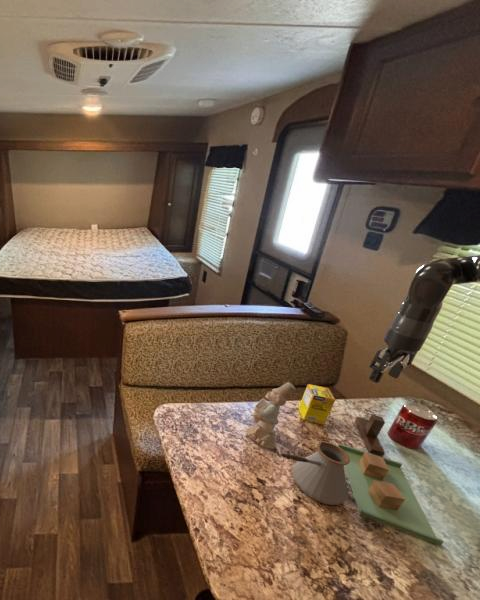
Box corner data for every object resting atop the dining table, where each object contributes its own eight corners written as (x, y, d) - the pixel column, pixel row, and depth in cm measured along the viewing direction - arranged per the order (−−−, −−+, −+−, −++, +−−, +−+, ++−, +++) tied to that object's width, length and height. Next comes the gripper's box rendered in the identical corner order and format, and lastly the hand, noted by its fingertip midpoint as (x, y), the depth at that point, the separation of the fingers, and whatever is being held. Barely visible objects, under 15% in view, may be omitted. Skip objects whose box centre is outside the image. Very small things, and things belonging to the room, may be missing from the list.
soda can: (416, 456, 91) (437, 424, 86) (383, 439, 96) (401, 409, 91) (420, 443, 95) (440, 413, 90) (388, 428, 100) (405, 399, 95)
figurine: (280, 438, 95) (302, 384, 87) (273, 454, 89) (295, 399, 81) (249, 422, 100) (266, 370, 92) (240, 436, 95) (258, 383, 87)
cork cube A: (377, 468, 85) (383, 458, 84) (382, 480, 82) (389, 469, 80) (358, 462, 87) (364, 452, 85) (363, 474, 83) (369, 463, 82)
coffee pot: (315, 465, 86) (334, 424, 80) (355, 507, 76) (381, 463, 70) (246, 476, 82) (261, 434, 76) (278, 521, 72) (299, 476, 66)
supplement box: (323, 427, 100) (336, 399, 95) (302, 421, 101) (313, 395, 97) (317, 414, 105) (329, 387, 100) (296, 409, 106) (307, 383, 102)
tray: (397, 468, 87) (401, 463, 86) (438, 548, 68) (443, 542, 67) (336, 448, 92) (339, 443, 91) (358, 517, 74) (362, 511, 73)
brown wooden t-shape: (364, 427, 100) (376, 405, 97) (380, 460, 89) (394, 437, 85) (353, 423, 101) (364, 401, 98) (367, 456, 90) (380, 433, 86)
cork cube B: (385, 494, 78) (393, 483, 77) (397, 510, 75) (405, 499, 73) (367, 491, 79) (374, 480, 77) (378, 506, 75) (385, 495, 74)
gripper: (408, 341, 81) (381, 391, 88) (441, 334, 85) (414, 382, 92) (375, 327, 88) (353, 375, 94) (408, 322, 92) (384, 367, 99)
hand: (383, 378), depth 93 cm, fingers open, 8 cm apart
